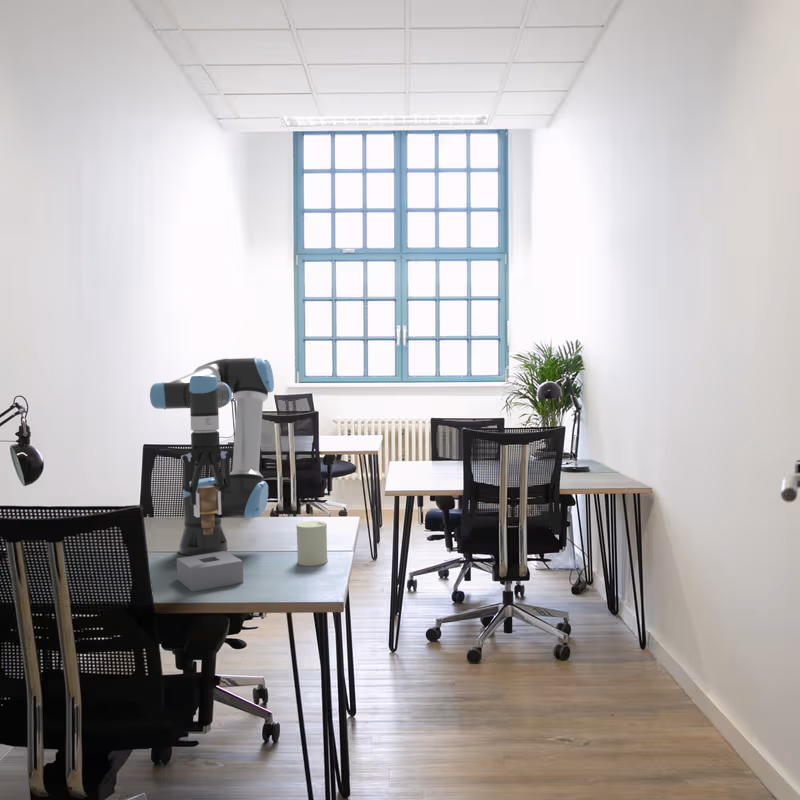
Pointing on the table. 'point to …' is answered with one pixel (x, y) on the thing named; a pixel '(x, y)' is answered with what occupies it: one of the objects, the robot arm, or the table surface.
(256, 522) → the table surface
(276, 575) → the table surface
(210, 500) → the walnut peg
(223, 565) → the socket block
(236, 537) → the table surface
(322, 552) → the can
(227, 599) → the table surface
